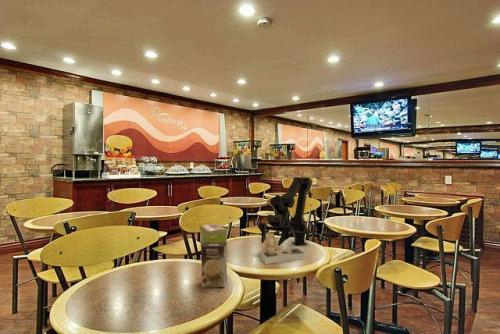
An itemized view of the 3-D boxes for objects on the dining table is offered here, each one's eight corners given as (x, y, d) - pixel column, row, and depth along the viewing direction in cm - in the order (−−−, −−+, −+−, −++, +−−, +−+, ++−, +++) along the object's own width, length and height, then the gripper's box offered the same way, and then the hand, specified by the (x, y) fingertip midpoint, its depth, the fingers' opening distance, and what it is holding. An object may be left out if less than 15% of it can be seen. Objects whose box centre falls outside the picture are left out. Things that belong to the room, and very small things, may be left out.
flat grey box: (260, 258, 144) (260, 252, 144) (297, 254, 149) (297, 248, 149) (265, 263, 136) (265, 257, 136) (304, 259, 142) (304, 252, 142)
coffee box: (201, 287, 112) (199, 246, 112) (205, 281, 118) (204, 241, 118) (224, 288, 111) (223, 246, 111) (227, 281, 117) (226, 241, 117)
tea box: (200, 252, 156) (199, 224, 156) (218, 249, 161) (217, 222, 160) (208, 260, 143) (207, 230, 143) (227, 257, 147) (226, 228, 147)
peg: (264, 260, 142) (264, 233, 142) (271, 258, 144) (270, 232, 144) (269, 262, 138) (269, 234, 138) (276, 260, 141) (275, 233, 140)
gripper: (258, 206, 150) (247, 232, 141) (291, 209, 139) (281, 237, 131) (267, 219, 157) (256, 244, 148) (299, 222, 146) (289, 250, 137)
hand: (270, 244), depth 141 cm, fingers open, 9 cm apart
